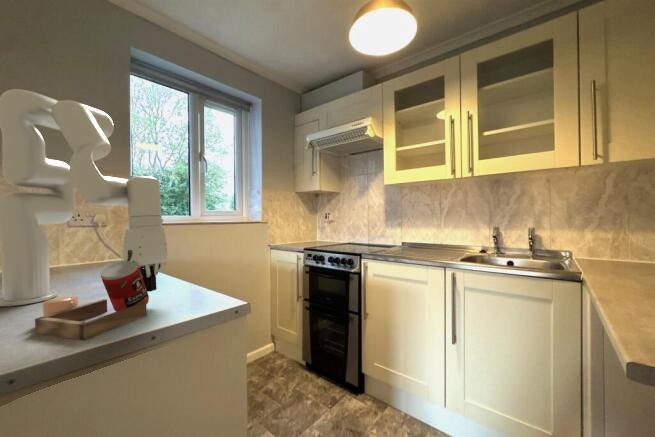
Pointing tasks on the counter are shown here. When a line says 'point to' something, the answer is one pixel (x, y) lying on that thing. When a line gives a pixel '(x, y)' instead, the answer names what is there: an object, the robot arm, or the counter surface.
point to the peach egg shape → (59, 304)
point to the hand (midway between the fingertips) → (149, 290)
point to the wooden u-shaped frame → (71, 327)
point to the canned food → (124, 285)
